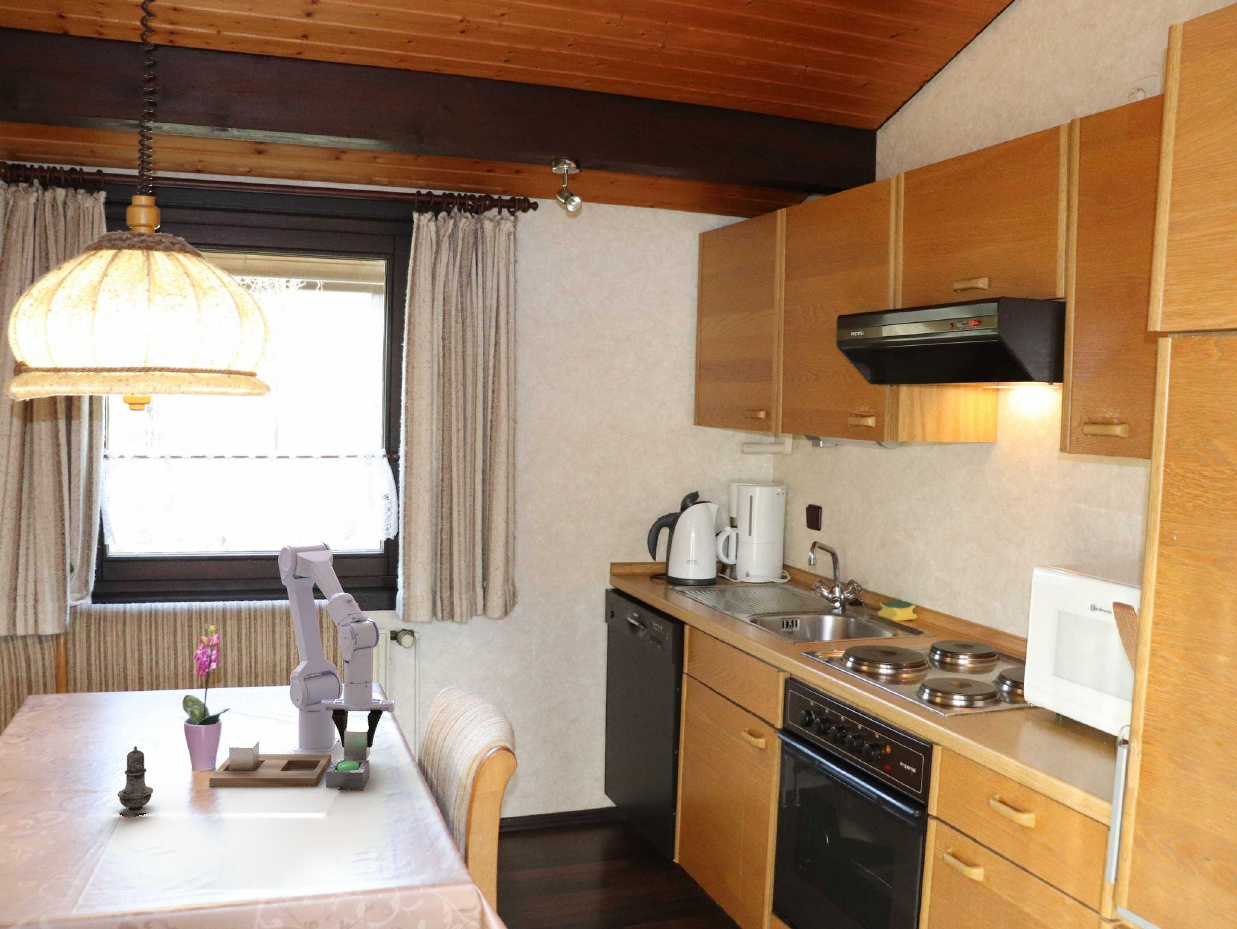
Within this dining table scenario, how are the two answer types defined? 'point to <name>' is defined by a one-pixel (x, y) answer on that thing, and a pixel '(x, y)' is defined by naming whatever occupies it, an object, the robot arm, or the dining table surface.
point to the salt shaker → (135, 784)
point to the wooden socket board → (275, 772)
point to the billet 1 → (244, 755)
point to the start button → (348, 765)
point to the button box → (348, 776)
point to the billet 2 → (356, 742)
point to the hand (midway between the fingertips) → (357, 745)
